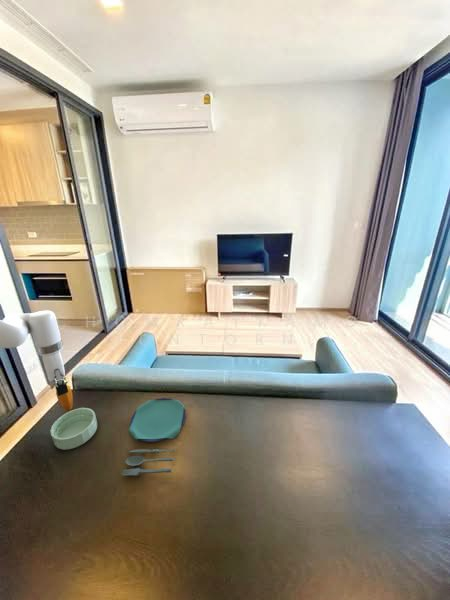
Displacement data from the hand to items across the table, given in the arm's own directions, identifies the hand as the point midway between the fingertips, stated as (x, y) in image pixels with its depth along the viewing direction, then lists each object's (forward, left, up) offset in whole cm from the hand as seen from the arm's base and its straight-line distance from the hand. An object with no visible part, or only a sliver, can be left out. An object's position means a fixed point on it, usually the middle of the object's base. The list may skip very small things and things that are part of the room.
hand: (60, 386), depth 92 cm
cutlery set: (+21, -31, -12) cm, 40 cm away
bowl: (0, -13, -12) cm, 18 cm away
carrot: (0, 0, -12) cm, 12 cm away
